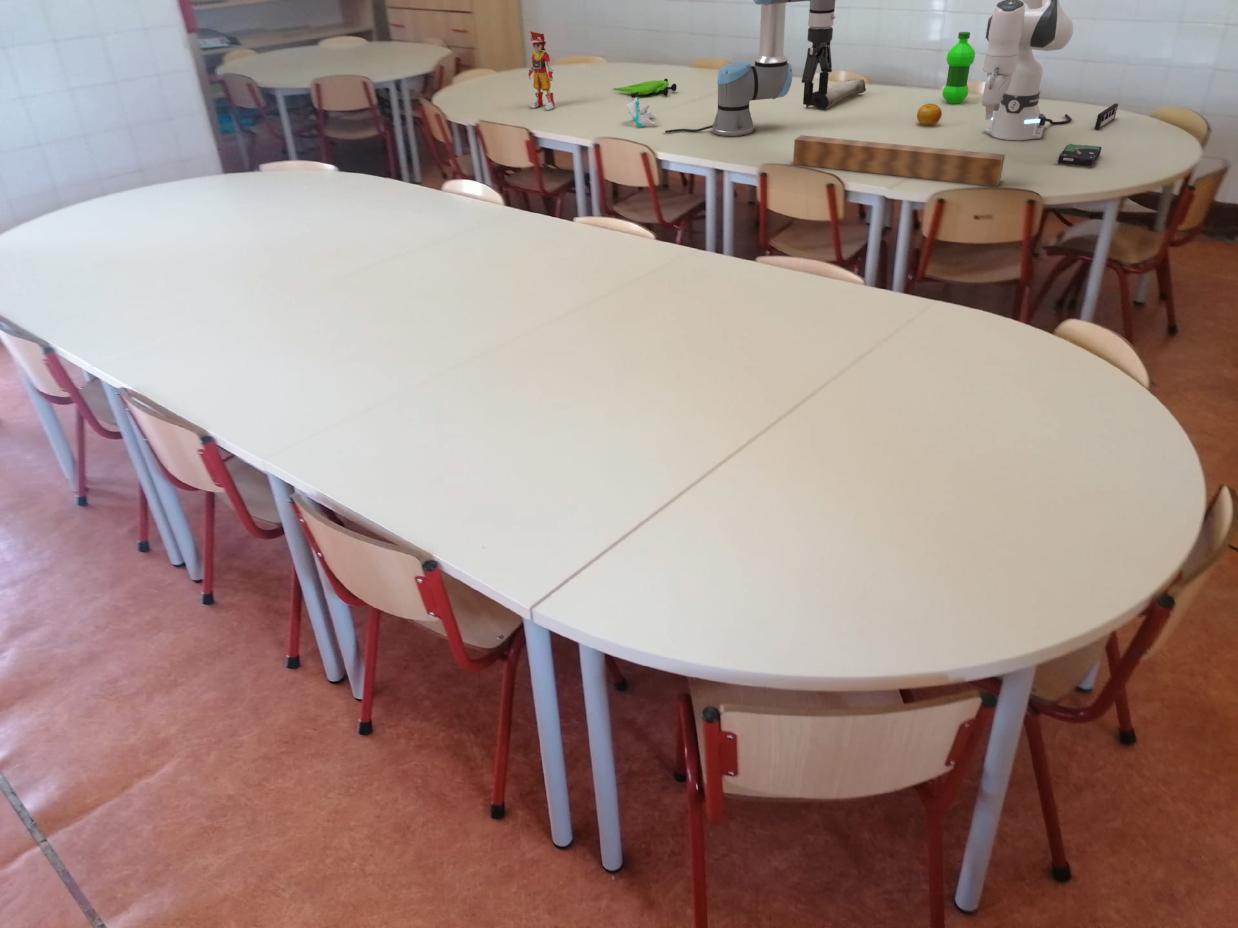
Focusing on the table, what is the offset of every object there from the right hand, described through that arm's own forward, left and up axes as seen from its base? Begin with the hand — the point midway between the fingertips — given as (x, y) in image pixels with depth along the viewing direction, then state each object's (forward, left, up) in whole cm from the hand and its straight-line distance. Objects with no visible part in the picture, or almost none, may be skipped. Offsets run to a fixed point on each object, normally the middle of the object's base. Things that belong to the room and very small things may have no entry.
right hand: (992, 114), depth 264 cm
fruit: (-56, -38, -20) cm, 71 cm away
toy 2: (-56, -168, -20) cm, 178 cm away
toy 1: (-16, -191, -20) cm, 192 cm away
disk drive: (-35, +20, -20) cm, 45 cm away
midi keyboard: (-82, +17, -20) cm, 86 cm away
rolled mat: (-75, -83, -20) cm, 113 cm away
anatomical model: (-13, -137, -20) cm, 139 cm away
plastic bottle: (-92, -41, -20) cm, 102 cm away
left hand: (+6, -54, 0) cm, 55 cm away
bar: (+3, -27, -20) cm, 34 cm away
